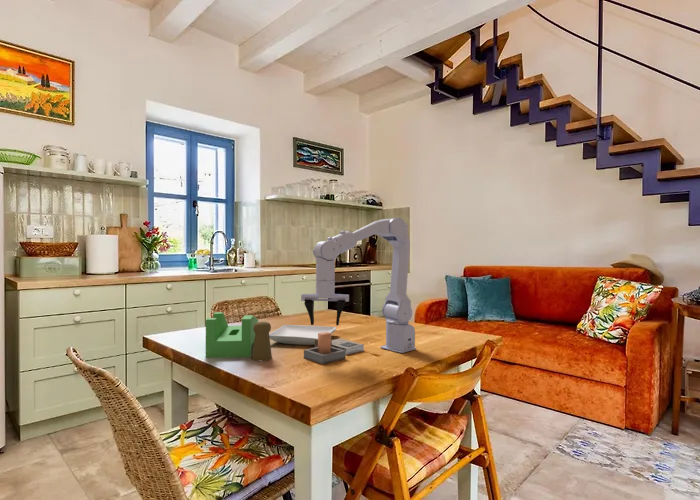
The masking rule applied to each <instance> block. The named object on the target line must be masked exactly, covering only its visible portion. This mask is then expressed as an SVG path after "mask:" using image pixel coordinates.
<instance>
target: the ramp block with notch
mask: <svg viewBox="0 0 700 500" xmlns="http://www.w3.org/2000/svg"><path fill="white" fill-rule="evenodd" d="M257 322H259V319H258V318H257V317H256V316H255V315H252V314H249V315H248V314H247V315H246V314H245V315H244V316H242V318H241V325H229V324H228V321H227V319H226V317H225V313H224V312H223V311H221V312H220V311H217V312H216V311H215V312H213V317H208V318H206V319H205V358H207V359H208V358H209V359H210V358H213V359H216V358H249V357H250V358H251V357H252V348H253V346H254V339H255V332H254V329H253V327H254V324H255V323H257Z"/></svg>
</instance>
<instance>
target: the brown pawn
mask: <svg viewBox="0 0 700 500" xmlns="http://www.w3.org/2000/svg"><path fill="white" fill-rule="evenodd" d="M253 329H254V332H255V339H254V343H253V345H252V352H251V360H252V361H257V362H263V361H269V360H271V359H273V357H272V356H273V354H272V346H271V339H270V337H269V334H270V333H271V329H272V326H271V323H270V322H269V321H258V322H257V323H255V324H254V327H253Z"/></svg>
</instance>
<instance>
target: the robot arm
mask: <svg viewBox="0 0 700 500" xmlns="http://www.w3.org/2000/svg"><path fill="white" fill-rule="evenodd" d="M408 229H409V225H408V224H407V223H406V221H405V220H404V219H403V218H401V217H392V218H380V219H379V220H375V221H372V222H370V223H369V224H367V225H364V226H362V227H361V228H358V229H357V230H354V231H353V232H351V231H350V230H340V231H339V234H337V235H334V236H328V237H327V238H326V240H321V241H318V242H317V243H316V245H315V244H314V245H315V246H314V248H313V249H312V254H313V256H314V258H315V259H316V260H315V261H316V262H315V293H301V294H300V296H301V298H300V301H301V302H304V307H305V308H306V311H307V313H308V316H309V321H310V326H315V325H314V324H315V314H314V311H315V310H314V309H315V302H336V318H335V319H336V321H335V326H339V325H340V324H339V323H340V318H341V315H342V311H343V309H344V307H345V305H346V303H347V302H350V294H343V293H342V294H341V293H335V290H336V288H335V285H336V284H335V283H336V280H335V279H336V277H335V275H336V273H335V271H336V265H335V263H336V259H337V258H338V256H339V255H340V254H344V253H346V252H348V251H349V250H351V249H354V248H355V247H356V245H357V243H358V242H359V241H362V240H364V239H367V238H369V237H371V236H374V235H378V236H379V237H380V238H382V239H383V240H386V241H387V242H388V243H389V244H390V245H391V246H392V248H393V249H392V251H393V252H392V262H391V274H390V285H389V286H390V287H389V293H388V294H387V295H386V296H385V298H384V299H385V301H384V304H383V305H382V308H381V313H382V316H383V317H384V318H385V320H384V321H385V345H380V349H384V350H388V351H391V352H396V353H401V354H404V353H408V352H410V351H414V350H416V349H417V347H416V330H415V327H414V326H413V325H412V324H410V322H409V321H410V320H411V319H412V316H413V309H412V304H411V303H412V302H411V301H412V300H411V299H410V298H409V296H408V295H407V286H408V276H409V275H408V274H409V273H408V272H409V261H410V249H411V241H410V237H409V234H408V232H409V231H408Z"/></svg>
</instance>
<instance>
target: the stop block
mask: <svg viewBox="0 0 700 500" xmlns="http://www.w3.org/2000/svg"><path fill="white" fill-rule="evenodd" d="M332 340H333V339H331V347H332ZM315 347H318V339H315V345H314V348H315Z"/></svg>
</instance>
